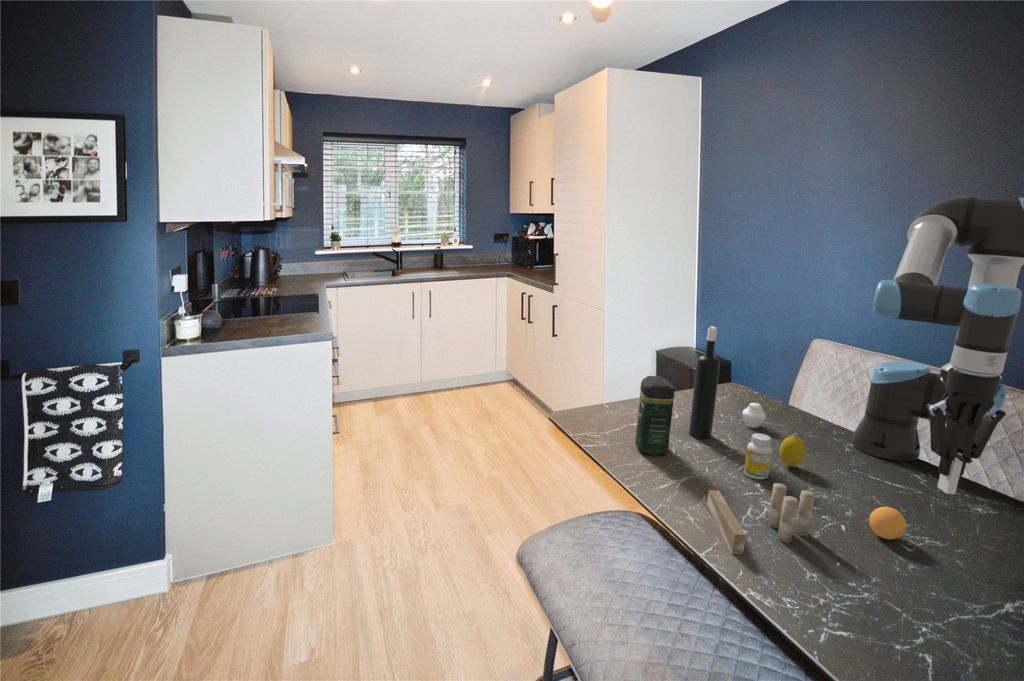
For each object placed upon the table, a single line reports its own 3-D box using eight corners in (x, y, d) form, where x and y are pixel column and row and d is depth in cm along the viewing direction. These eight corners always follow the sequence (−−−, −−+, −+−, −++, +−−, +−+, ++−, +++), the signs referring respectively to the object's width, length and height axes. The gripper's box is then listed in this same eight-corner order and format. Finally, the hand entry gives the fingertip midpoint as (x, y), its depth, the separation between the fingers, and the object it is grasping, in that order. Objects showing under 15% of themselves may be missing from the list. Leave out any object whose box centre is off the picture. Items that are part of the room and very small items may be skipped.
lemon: (805, 473, 139) (810, 442, 137) (780, 470, 140) (785, 439, 138) (799, 462, 144) (804, 432, 142) (775, 460, 145) (779, 430, 143)
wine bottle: (685, 430, 161) (697, 324, 154) (705, 430, 162) (718, 324, 154) (693, 439, 156) (706, 329, 148) (714, 439, 157) (728, 329, 149)
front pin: (804, 529, 115) (811, 490, 113) (810, 536, 113) (817, 497, 111) (792, 529, 116) (798, 490, 113) (797, 536, 113) (804, 496, 111)
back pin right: (777, 521, 118) (783, 483, 116) (782, 528, 116) (788, 489, 114) (765, 521, 118) (771, 482, 116) (770, 527, 116) (776, 488, 114)
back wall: (716, 507, 122) (718, 490, 121) (742, 554, 107) (745, 534, 106) (706, 507, 122) (708, 490, 121) (731, 553, 107) (734, 534, 106)
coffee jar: (671, 457, 145) (679, 386, 140) (639, 456, 145) (645, 385, 140) (663, 441, 154) (670, 373, 150) (632, 439, 154) (638, 372, 150)
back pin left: (787, 535, 113) (794, 496, 111) (793, 543, 111) (800, 502, 109) (775, 535, 113) (781, 495, 111) (780, 542, 111) (787, 502, 109)
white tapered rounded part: (761, 423, 169) (765, 400, 167) (766, 431, 163) (769, 407, 161) (739, 420, 170) (742, 398, 168) (742, 429, 164) (746, 405, 162)
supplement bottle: (763, 482, 134) (769, 443, 131) (740, 474, 137) (745, 436, 135) (771, 474, 138) (777, 436, 135) (748, 467, 141) (753, 430, 139)
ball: (891, 528, 117) (896, 501, 115) (909, 546, 111) (916, 518, 109) (860, 527, 117) (865, 500, 115) (877, 545, 111) (883, 516, 110)
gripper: (952, 375, 102) (923, 498, 107) (1029, 379, 101) (996, 502, 107) (924, 363, 109) (898, 479, 115) (996, 366, 109) (966, 482, 114)
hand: (946, 490), depth 111 cm, fingers closed
